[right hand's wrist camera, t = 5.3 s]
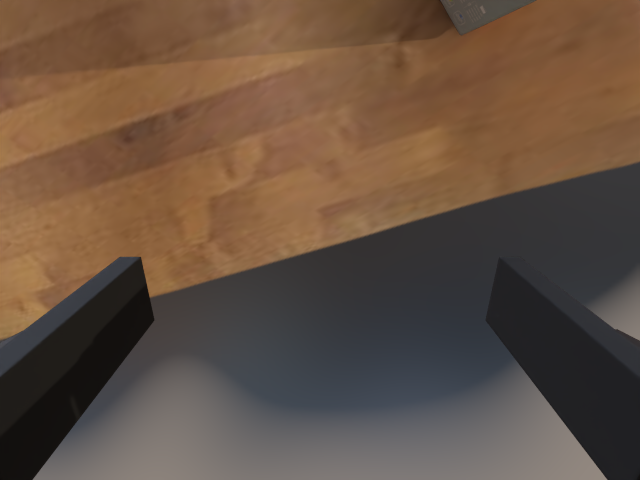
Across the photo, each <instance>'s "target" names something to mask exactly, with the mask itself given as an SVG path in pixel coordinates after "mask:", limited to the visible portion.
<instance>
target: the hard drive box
mask: <svg viewBox="0 0 640 480" xmlns="http://www.w3.org/2000/svg"><path fill="white" fill-rule="evenodd" d="M440 1H441V2H442V4H443V6H444V8H445V10H446V11H447V13H448V15H449V17H450V18H451V20H452V22H453V24H454V25H455V27H456V29H457V31H458V32H459V34H460V35H463V34H466V33H468V32H470V31H472V30H475V29H477V28H479V27H481V26H483V25H485V24H487V23H490V22H492V21H494V20H496V19H498V18H500V17H502V16H504V15H506V14H509V13H511V12H513V11H515V10H517V9H519V8H521V7H523V6H525V5H528V4H530V3H532V2H534V1H536V0H440Z"/></svg>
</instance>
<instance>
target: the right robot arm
mask: <svg viewBox="0 0 640 480" xmlns="http://www.w3.org/2000/svg"><path fill="white" fill-rule="evenodd" d="M153 321H154V316H153V311H152V307H151V302H150V297H149V293H148V288H147V283H146V279H145V274H144V270H143V265H142V260H141V257H119V258H118V259H117V260H115V261H114V262H113V263H111V264H110V265H109V266H107V267H106V268H105V269H103V270H102V271H101V272H100V273H98V274H97V275H96V276H94V277H93V278H92V279H90V280H89V281H88V282H86V283H85V284H84V285H83V286H81V287H80V288H79V289H77V290H76V291H75V292H73V293H72V294H71V295H70V296H68V297H67V298H66V299H64V300H63V301H62V302H60V303H59V304H58V305H56V306H55V307H54V308H53V309H51V310H50V311H49V312H47V313H46V314H45V315H43V316H42V317H41V318H39V319H38V320H37V321H36V322H34V323H33V324H32V325H30V326H29V327H28V328H26V329H25V330H24V331H21V332H20V333H18V334H16V335H14V336H12V337H10V338H8V339H6V340H4V341H2V342H0V480H33V478H34V477H35V476H36V474H37V473H38V472H39V470H40V469H41V468H42V467H43V465H44V464H45V463H46V461H47V460H48V459H49V457H50V456H51V455H52V453H53V452H54V451H55V450H56V448H57V447H58V446H59V444H60V443H61V442H62V440H63V439H64V438H65V436H66V435H67V434H68V433H69V431H70V430H71V429H72V427H73V426H74V425H75V423H76V422H77V421H78V419H79V418H80V417H81V416H82V414H83V413H84V412H85V410H86V409H87V408H88V406H89V405H90V404H91V402H92V401H93V400H94V399H95V397H96V396H97V395H98V393H99V392H100V391H101V389H102V388H103V387H104V386H105V384H106V383H107V382H108V380H109V379H110V378H111V376H112V375H113V374H114V372H115V371H116V370H117V368H118V367H119V366H120V365H121V363H122V362H123V361H124V359H125V358H126V357H127V355H128V354H129V353H130V351H131V350H132V349H133V348H134V346H135V345H136V344H137V342H138V341H139V340H140V338H141V337H142V336H143V334H144V333H145V332H146V331H147V329H148V328H149V327H150V325H151V324H152V323H153ZM486 321H487V323H488V324H489V325H490V327H491V328H492V329H493V331H494V332H495V333H496V335H497V336H498V337H499V338H500V340H501V341H502V342H503V344H504V345H505V346H506V348H507V349H508V350H509V351H510V353H511V354H512V355H513V357H514V358H515V359H516V361H517V362H518V363H519V365H520V366H521V367H522V368H523V370H524V371H525V372H526V374H527V375H528V376H529V378H530V379H531V380H532V382H533V383H534V384H535V386H536V387H537V388H538V389H539V391H540V392H541V393H542V395H543V396H544V397H545V399H546V400H547V401H548V402H549V404H550V405H551V406H552V408H553V409H554V410H555V412H556V413H557V414H558V416H559V417H560V418H561V419H562V421H563V422H564V423H565V425H566V426H567V427H568V429H569V430H570V431H571V433H572V434H573V435H574V436H575V438H576V439H577V440H578V442H579V443H580V444H581V446H582V447H583V448H584V450H585V451H586V452H587V453H588V455H589V456H590V457H591V459H592V460H593V461H594V463H595V464H596V465H597V467H598V468H599V469H600V470H601V472H602V473H603V474H604V476H605V477H606V478H607V480H640V341H639V340H637V339H635V338H633V337H631V336H629V335H627V334H625V333H623V332H621V331H619V330H615V329H613V328H612V327H611V326H610V325H608V324H607V323H606V322H604V321H603V320H602V319H600V318H599V317H598V316H597V315H595V314H594V313H593V312H591V311H590V310H589V309H587V308H586V307H585V306H584V305H582V304H581V303H580V302H578V301H577V300H576V299H574V298H573V297H572V296H570V295H569V294H568V293H567V292H565V291H564V290H563V289H561V288H560V287H559V286H557V285H556V284H555V283H554V282H552V281H551V280H550V279H548V278H547V277H546V276H544V275H543V274H542V273H540V272H539V271H538V270H537V269H535V268H534V267H533V266H531V265H530V264H529V263H527V262H526V261H525V260H523V259H522V258H521V257H499V260H498V265H497V270H496V274H495V279H494V284H493V288H492V293H491V297H490V302H489V307H488V311H487V316H486Z"/></svg>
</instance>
